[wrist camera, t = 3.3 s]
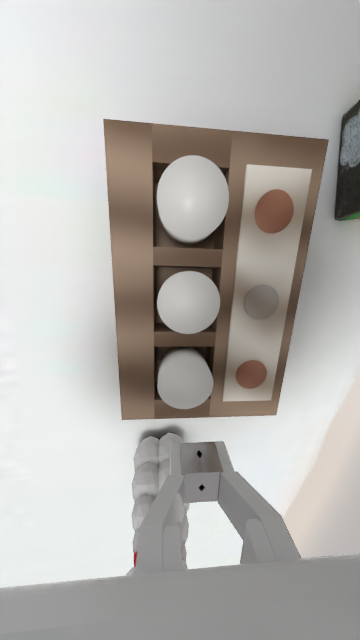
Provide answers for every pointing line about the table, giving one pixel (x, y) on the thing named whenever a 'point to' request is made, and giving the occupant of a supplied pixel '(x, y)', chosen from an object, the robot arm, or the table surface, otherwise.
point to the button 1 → (184, 378)
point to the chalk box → (349, 167)
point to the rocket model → (153, 485)
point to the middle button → (188, 302)
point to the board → (211, 261)
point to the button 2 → (191, 199)
